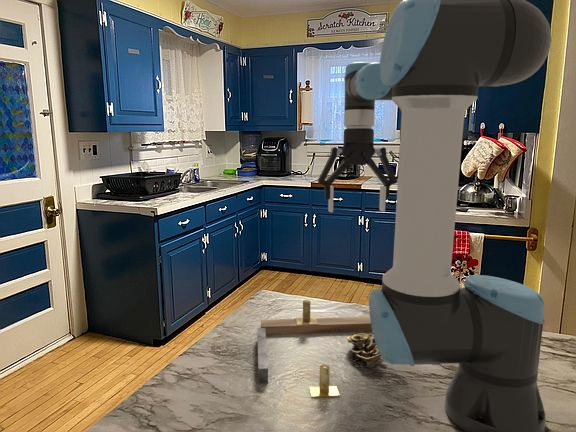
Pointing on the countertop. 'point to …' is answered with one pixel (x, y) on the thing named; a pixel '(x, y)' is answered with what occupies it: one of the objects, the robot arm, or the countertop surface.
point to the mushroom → (364, 350)
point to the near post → (324, 385)
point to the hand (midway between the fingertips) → (356, 211)
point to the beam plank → (315, 324)
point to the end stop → (262, 356)
